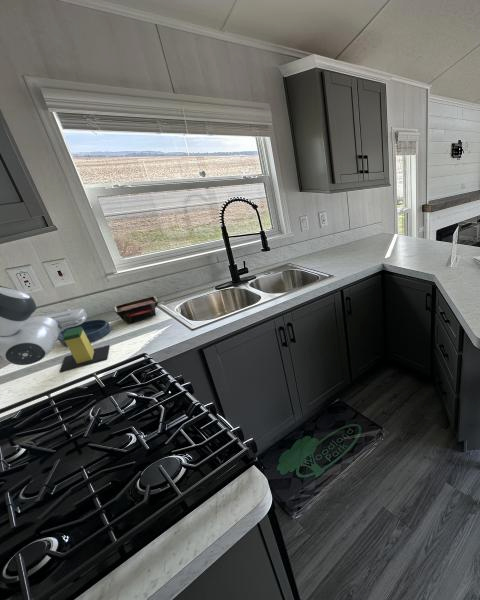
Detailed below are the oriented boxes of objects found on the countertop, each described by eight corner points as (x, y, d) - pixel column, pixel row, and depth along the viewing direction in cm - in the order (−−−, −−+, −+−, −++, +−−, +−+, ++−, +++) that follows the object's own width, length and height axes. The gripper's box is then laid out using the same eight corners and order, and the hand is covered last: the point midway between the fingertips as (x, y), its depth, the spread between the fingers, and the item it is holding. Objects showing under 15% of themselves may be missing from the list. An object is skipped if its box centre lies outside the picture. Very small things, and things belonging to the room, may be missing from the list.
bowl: (74, 350, 137) (69, 342, 135) (53, 342, 144) (48, 334, 142) (119, 330, 151) (116, 323, 149) (98, 324, 158) (95, 316, 156)
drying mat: (59, 372, 123) (59, 371, 123) (65, 357, 132) (65, 356, 132) (107, 359, 130) (106, 358, 130) (109, 346, 139) (109, 344, 139)
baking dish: (123, 318, 166) (112, 302, 161) (163, 304, 175) (153, 288, 169) (124, 331, 156) (112, 315, 151) (166, 315, 165) (156, 299, 159)
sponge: (77, 363, 127) (62, 337, 122) (80, 355, 132) (66, 329, 127) (92, 359, 129) (78, 333, 124) (94, 351, 135) (81, 326, 129)
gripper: (79, 312, 105) (85, 298, 116) (-14, 332, 95) (2, 315, 105) (87, 329, 108) (92, 314, 118) (-2, 350, 97) (12, 332, 108)
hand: (49, 314), depth 112 cm, fingers open, 8 cm apart
